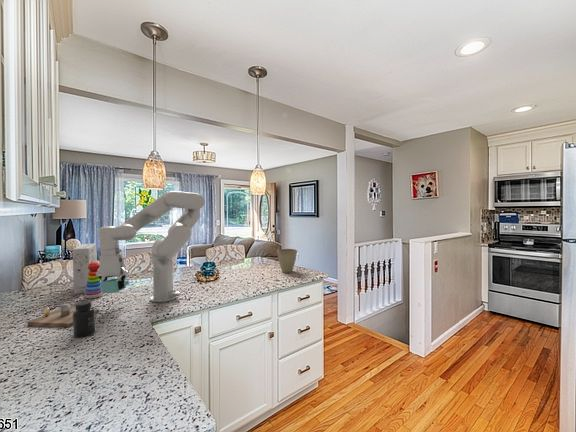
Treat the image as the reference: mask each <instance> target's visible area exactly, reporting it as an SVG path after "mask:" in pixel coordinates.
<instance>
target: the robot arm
mask: <svg viewBox="0 0 576 432" xmlns="http://www.w3.org/2000/svg"><path fill="white" fill-rule="evenodd" d="M205 203H206V201H205V197H204V196H203V195H202V194H201V193H197V192H185V191H179V190H178V191H176V190H171V191H167V192H165V193H164V194H162V195H161V196H159V197H158V198H156V199H155V200H153V201H152V202H151V203H150V204H148V205H147V206H145V207H144V208H142V209H141V210H140V211H138V212H137V213H136V214H134V215H133V216H131V217H129V218H128V219H127V220H125V221H124V222H123V223H121V225H119V226H115V225H108V226H107V225H106V226H100V227H99V228H98V238H99V249H100V256H99V262H98V263H99V269H98V271H97V272H96V275H97V276H98V278H99V279H100V282H103V281H106V280H108V279H109V277H116V278H118V280H119V281H118V287H119V290H120V289H122V288H124V279H125V280H126V278H127V277H128V275H129V274H130V271H129V270H128V269H126V266H125V261H124V257H123V254H122V249H120V242H119V241H131V240H133V239H135V237H136V236H137V232H138V231H139V230H141V229H143V228H144V227H145V226H147V225H150V224H151V223H154V222H157V221H158V220H160V219H161V218H162V217H163V216H164V215H166V214H167V213H169V212H170V211H172V210H173V209H174V208H176V209H177V208H178V209H184V211H183V213H182V214H181V216H180V217H179V218H178V219H176V221H175V222H174V223H173V224H172V225H171V226H170V227H169V228H168V230H167V235H166V237H165V238H158V239H156V240H155V241H154V242H153V244H152V246H151V256H152V284H153V286H152V292H153V293H152V294H153V295H152V296H151V297H149V301H150V302H152V303H166V302H170V301H173V300H175V299H176V298H177V297H180V295H181V292H180V291H176V288H174V261H173V260H174V259H173V258H174V257H175V256H176V255H177V254H178V253H179V251H181V249H182V248H184V246H185V245H186V244H187V242H188V241H189V240H190V238H191V236H192V228H193V227H195V225H196V223H197V222H198V220H200V215H201V209H202V208H203V207H204V205H205ZM124 289H125V288H124ZM122 290H123V289H122ZM120 291H121V290H120Z"/></svg>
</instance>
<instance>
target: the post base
mask: <svg viewBox="0 0 576 432" xmlns="http://www.w3.org/2000/svg"><path fill="white" fill-rule="evenodd" d="M70 306H71V305H70V303H63V304H61V305H60V308H58V309H56V310H53V311H51V312H49V316H48V317H45V314H43V315H41V316H39V317H36V318H34V319H32V320H30V321H27V326H29V327H32V326H33V327H52V328H53V327H57V328H71V327H73V313H74V312H75V311H76V309H75V308H76V307H70ZM93 309H94V311H95V315H96V314H98V313H100V308H93Z"/></svg>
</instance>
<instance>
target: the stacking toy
mask: <svg viewBox="0 0 576 432" xmlns="http://www.w3.org/2000/svg"><path fill="white" fill-rule="evenodd" d="M88 269H89V270H90V271H89V272H88V275H89V276H88V277H87V278H88V280H87V282H88V283H87V284H86V286H87V287H86V291H85V293H84V298H85V299H88V300H89V299H97V298H100V297H102V296H103V294H104V293H102V290H101V280H100V279H99V278H98V276H97V275H96V272H97V271H98V270H99V262H92V263H90V264H89V266H88Z"/></svg>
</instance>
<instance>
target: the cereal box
mask: <svg viewBox="0 0 576 432" xmlns="http://www.w3.org/2000/svg"><path fill="white" fill-rule="evenodd" d="M97 252H98V251H97V243H82V244H80V245H78V246H76V247H74V248H73V249H72V275H73V278H72V279H73V281H72V282H73V294H83V293H84V294H85V291H86V287H87V286H86V284H87V283H88V282H87V280H88V278H87V277H88V276H89V275H88V272H89V271H90V270H89V269H88V266H89V264H90V263H92V262H97V258H98V257H97ZM97 263H98V262H97Z"/></svg>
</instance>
